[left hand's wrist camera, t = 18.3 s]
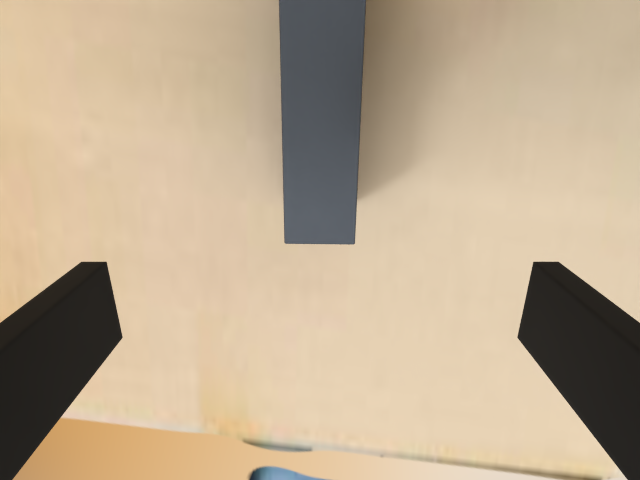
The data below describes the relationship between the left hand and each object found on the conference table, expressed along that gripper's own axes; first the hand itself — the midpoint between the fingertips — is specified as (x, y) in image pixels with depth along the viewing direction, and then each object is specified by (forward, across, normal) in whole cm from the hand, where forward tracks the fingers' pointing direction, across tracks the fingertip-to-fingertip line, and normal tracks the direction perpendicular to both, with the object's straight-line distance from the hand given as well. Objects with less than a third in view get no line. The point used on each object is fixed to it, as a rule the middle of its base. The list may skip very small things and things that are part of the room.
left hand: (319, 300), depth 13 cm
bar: (+22, 0, -8) cm, 23 cm away
